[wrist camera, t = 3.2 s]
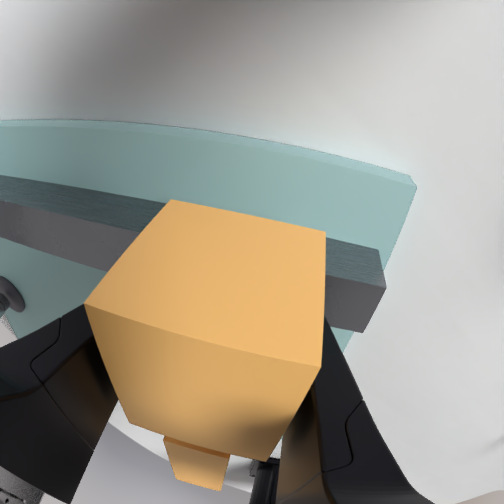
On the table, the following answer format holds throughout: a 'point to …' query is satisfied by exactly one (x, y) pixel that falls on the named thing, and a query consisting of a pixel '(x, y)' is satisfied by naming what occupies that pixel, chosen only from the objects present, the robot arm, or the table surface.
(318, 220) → the board
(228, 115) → the table surface
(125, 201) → the rail
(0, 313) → the fixed leg
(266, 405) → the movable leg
